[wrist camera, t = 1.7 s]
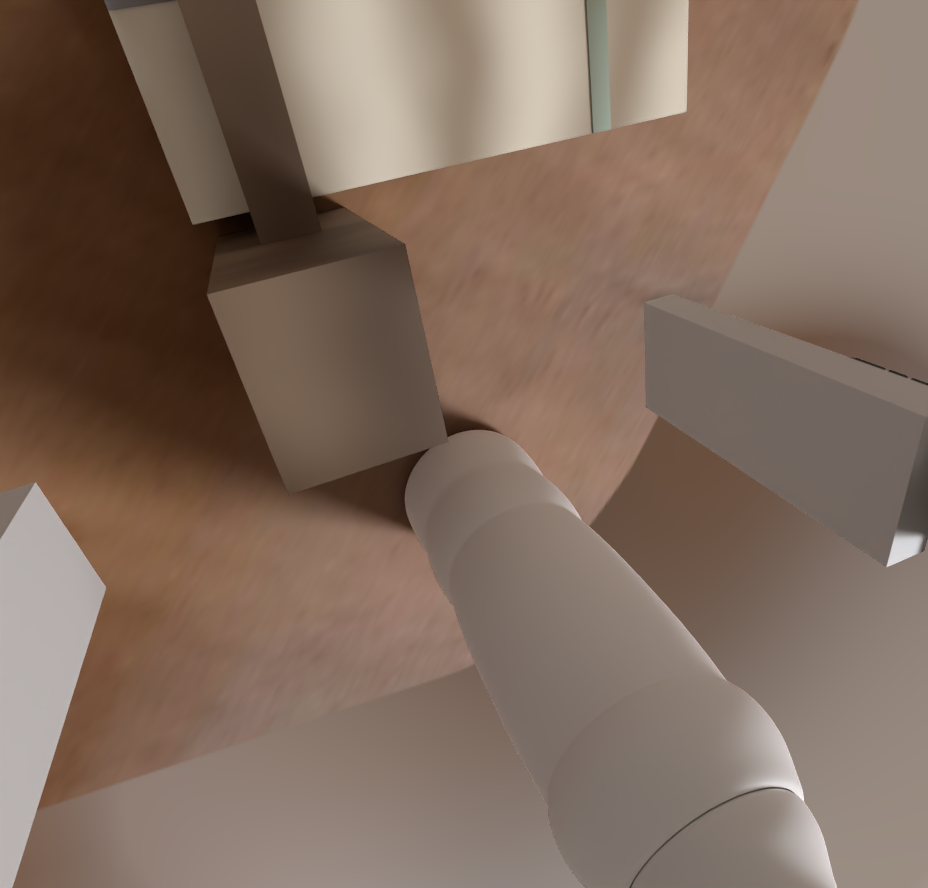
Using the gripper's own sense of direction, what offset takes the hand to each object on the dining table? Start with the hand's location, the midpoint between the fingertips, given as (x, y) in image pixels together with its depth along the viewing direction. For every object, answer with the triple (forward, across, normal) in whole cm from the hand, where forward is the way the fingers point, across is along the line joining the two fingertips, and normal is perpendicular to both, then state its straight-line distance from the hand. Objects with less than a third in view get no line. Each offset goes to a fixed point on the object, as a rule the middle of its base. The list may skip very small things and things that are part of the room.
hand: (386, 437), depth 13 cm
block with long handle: (+14, 0, +4) cm, 15 cm away
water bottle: (+14, +4, -12) cm, 19 cm away
